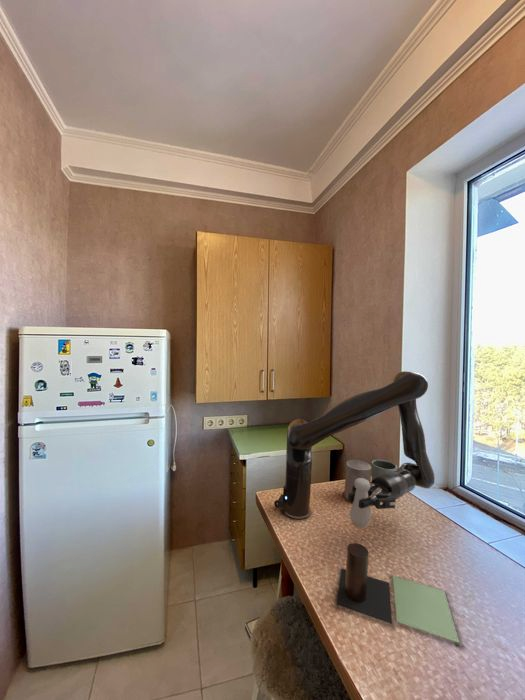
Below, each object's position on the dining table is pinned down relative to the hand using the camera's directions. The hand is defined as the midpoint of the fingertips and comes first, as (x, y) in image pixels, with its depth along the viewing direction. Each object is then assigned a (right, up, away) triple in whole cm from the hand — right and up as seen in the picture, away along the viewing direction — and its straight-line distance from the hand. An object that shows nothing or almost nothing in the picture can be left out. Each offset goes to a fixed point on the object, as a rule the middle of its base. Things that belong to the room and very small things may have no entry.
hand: (354, 501), depth 83 cm
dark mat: (-1, -18, -11) cm, 21 cm away
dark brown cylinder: (-3, -17, -11) cm, 21 cm away
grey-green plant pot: (+25, -18, +42) cm, 52 cm away
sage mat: (+12, -18, -13) cm, 26 cm away
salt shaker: (+2, -8, +2) cm, 8 cm away
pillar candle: (+12, -17, +36) cm, 41 cm away
